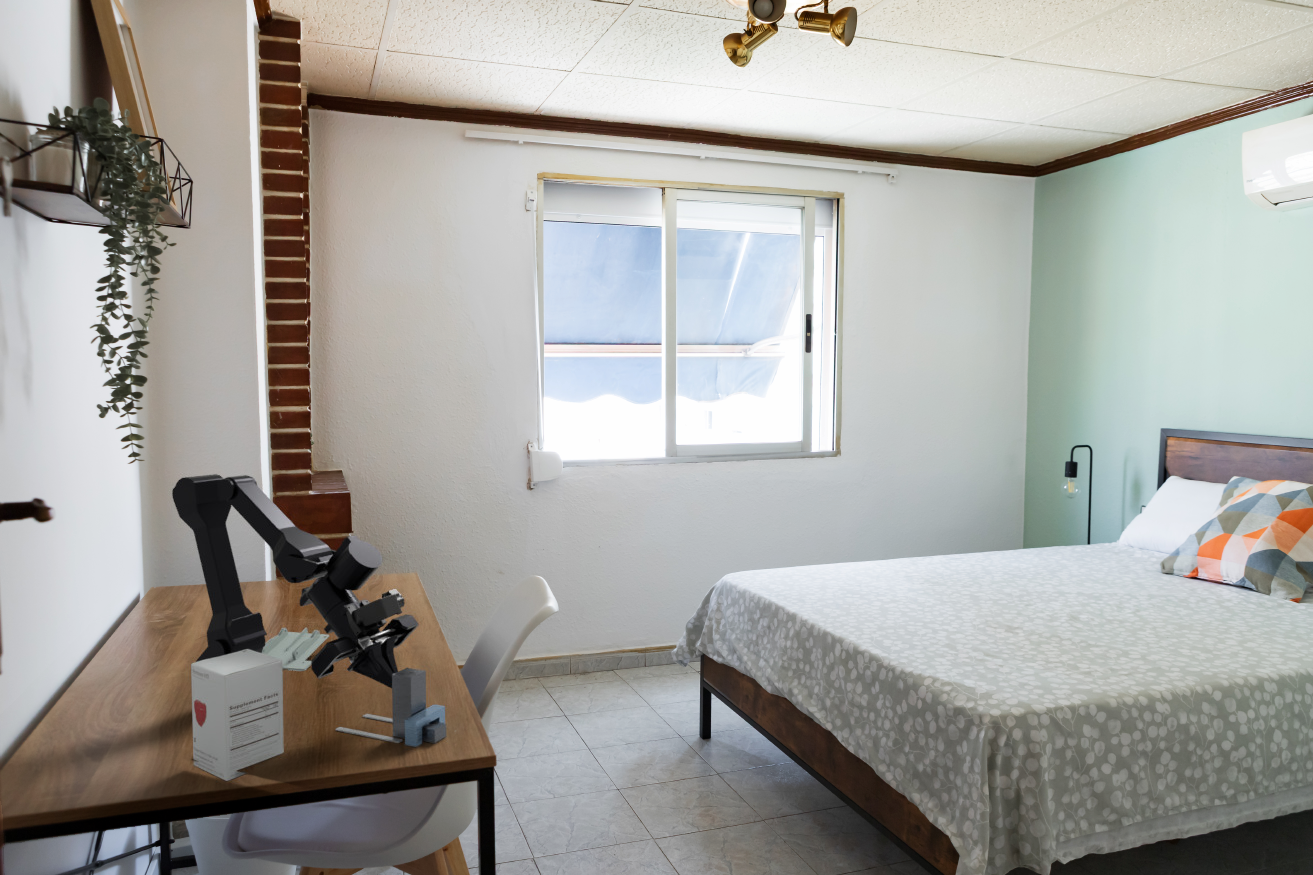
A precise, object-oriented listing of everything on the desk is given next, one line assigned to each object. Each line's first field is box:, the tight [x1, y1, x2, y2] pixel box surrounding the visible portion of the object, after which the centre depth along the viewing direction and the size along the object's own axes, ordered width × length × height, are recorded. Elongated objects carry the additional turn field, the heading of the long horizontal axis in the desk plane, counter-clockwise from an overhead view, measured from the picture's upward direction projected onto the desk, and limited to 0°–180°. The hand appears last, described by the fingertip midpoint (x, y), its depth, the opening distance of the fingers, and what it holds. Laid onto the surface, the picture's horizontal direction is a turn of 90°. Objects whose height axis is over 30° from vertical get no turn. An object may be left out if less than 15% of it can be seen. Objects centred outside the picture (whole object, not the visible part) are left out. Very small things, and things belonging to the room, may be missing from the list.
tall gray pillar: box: [391, 667, 447, 744], centre depth 133 cm, size 8×4×10 cm, turn 67°
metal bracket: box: [262, 627, 330, 672], centre depth 174 cm, size 14×6×15 cm
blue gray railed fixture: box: [335, 703, 446, 748], centre depth 136 cm, size 16×8×5 cm, turn 67°
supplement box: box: [190, 649, 284, 782], centre depth 126 cm, size 9×9×15 cm
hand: (398, 687), depth 135 cm, fingers closed, pressing on tall gray pillar
